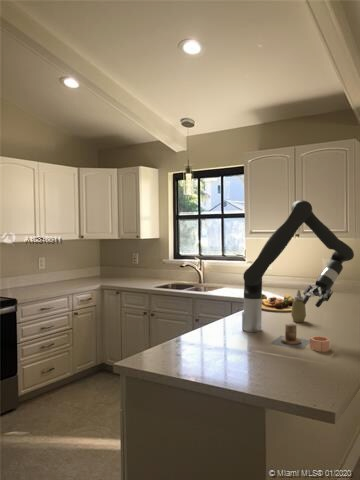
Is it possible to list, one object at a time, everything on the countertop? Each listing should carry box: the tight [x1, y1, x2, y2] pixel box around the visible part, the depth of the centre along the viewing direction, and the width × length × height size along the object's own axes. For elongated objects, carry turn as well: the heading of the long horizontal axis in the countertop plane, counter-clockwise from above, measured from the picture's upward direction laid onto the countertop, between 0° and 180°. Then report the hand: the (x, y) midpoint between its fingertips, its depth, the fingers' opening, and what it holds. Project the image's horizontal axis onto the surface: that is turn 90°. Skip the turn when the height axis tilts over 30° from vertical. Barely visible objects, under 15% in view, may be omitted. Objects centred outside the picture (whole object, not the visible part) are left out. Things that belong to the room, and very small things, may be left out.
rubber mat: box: [269, 335, 310, 350], centre depth 189 cm, size 15×16×1 cm
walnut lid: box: [281, 323, 301, 345], centre depth 189 cm, size 9×9×8 cm
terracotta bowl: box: [309, 335, 331, 353], centre depth 179 cm, size 8×8×5 cm
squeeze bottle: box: [290, 289, 307, 323], centre depth 230 cm, size 8×8×18 cm
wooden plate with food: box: [262, 293, 295, 314], centre depth 269 cm, size 32×32×8 cm
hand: (310, 304), depth 194 cm, fingers open, 8 cm apart
